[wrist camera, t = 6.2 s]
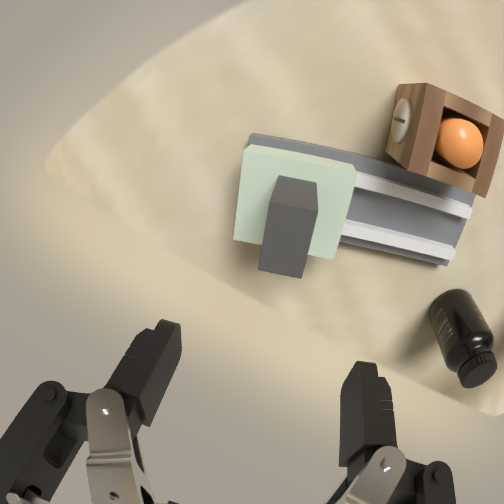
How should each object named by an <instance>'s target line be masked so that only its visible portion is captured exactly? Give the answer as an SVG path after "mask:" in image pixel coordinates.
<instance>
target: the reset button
mask: <svg viewBox="0 0 504 504" xmlns="http://www.w3.org/2000/svg"><path fill="white" fill-rule="evenodd" d="M433 152H434V153H435V154H436V155H438V156H440V157H441V158H443V159H445V160H446V161H448V162H450V163H451V164H453V165H454V166H456V167H458V168H462V169H467V168H470V167H472V166H474V165H475V164H476V163H477V162H478V161H479V160H480V158H481V156H482V152H483V139H482V135H481V133H480V131H479V129H478V128H477V127H476V126H475V125H474V124H473V123H471V122H469V121H466V120H463V119H459V118H455V117H451V116H447V115H442V117H441V122H440V126H439V130H438V135H437V139H436V143H435V147H434V151H433Z"/></svg>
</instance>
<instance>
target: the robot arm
mask: <svg viewBox="0 0 504 504" xmlns="http://www.w3.org/2000/svg"><path fill="white" fill-rule="evenodd" d="M181 345H182V344H181V327H180V324H178V323H174V322H170V321H167V320H164V319H161V320H160V321H159V323H158V324H157V326H156V327H155V329H154V330H151V329H147V328H146V329H145V330H143V331H142V332H140V333H139V334H138V335H136V337H135V338H134V340H133V342H132V343H131V345H130V347H129V348H128V350H127V351H126V353H125V356H123V358H122V359H121V361H120V363H119V364H118V366H117V368H116V369H115V371H114V373H113V374H112V376H111V378H110V379H109V381H108V383H107V384H106V385H105V386H104V388H102V389H98V390H96V391H94V392H92V393H89V394H86V393H77V392H70V391H66V390H65V389H64V387H63V386H62V384H60V383H59V382H56V381H46V382H43V383H42V384H40V385H39V386H38V387H37V389H36V390H35V391H34V393H33V394H32V395H31V397H30V398H29V399H28V401H27V402H26V404H25V405H24V406H23V408H22V409H21V410H20V412H19V413H18V414H17V416H16V417H15V419H14V420H13V422H12V423H11V424H10V426H9V427H8V429H7V430H6V432H5V434H4V435H3V436H2V438H1V439H0V504H50V503H49V502H50V500H51V498H52V496H53V495H54V493H55V491H56V489H57V487H58V486H59V484H60V482H61V480H62V479H63V477H64V475H65V473H66V472H67V470H68V468H69V466H70V465H71V463H72V461H73V459H74V458H75V456H76V454H77V453H78V451H79V449H80V447H81V446H82V444H83V443H84V441H89V449H90V456H89V457H88V458H87V460H86V468H87V476H88V482H89V488H90V494H91V499H92V504H156V501H155V498H154V494H153V491H152V487H151V484H150V482H149V479H148V477H147V474H146V469H145V465H144V461H143V456H142V452H141V447H140V443H139V437H138V431H139V429H140V427H141V425H142V424H143V425H146V426H148V427H150V425H151V423H152V421H153V419H154V416H155V414H156V412H157V409H158V407H159V405H160V403H161V400H162V398H163V396H164V394H165V391H166V389H167V387H168V385H169V383H170V380H171V378H172V376H173V374H174V372H175V369H176V367H177V365H178V363H179V360H180V357H181V351H182V346H181ZM340 404H341V405H340V406H341V407H340V451H339V452H340V453H339V467H347V468H348V469H347V474H346V475H345V477H344V478H343V479H342V481H341V482H340V483H339V485H338V486H337V487H336V489H335V490H334V491H333V493H332V494H331V495H330V496H329V498H328V499H327V500H326V502H324V504H456V498H455V491H454V483H453V477H452V472H451V469H450V467H449V466H448V465H447V464H446V463H444V462H442V461H434V462H432V463H430V464H429V465H423V464H420V463H417V462H413V461H410V460H408V459H406V458H405V456H404V454H403V453H402V451H400V450H399V449H398V447H397V441H396V429H395V419H394V411H393V402H392V394H391V388H390V386H389V385H388V382H387V381H386V379H385V377H378V371H377V365H376V364H375V363H371V362H363V361H357V362H356V363H355V364H354V366H353V368H352V369H351V371H350V373H349V375H348V376H347V378H346V380H345V381H344V383H343V386H342V389H341V395H340ZM168 504H178V503H175V502H172V501H169V502H168Z"/></svg>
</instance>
